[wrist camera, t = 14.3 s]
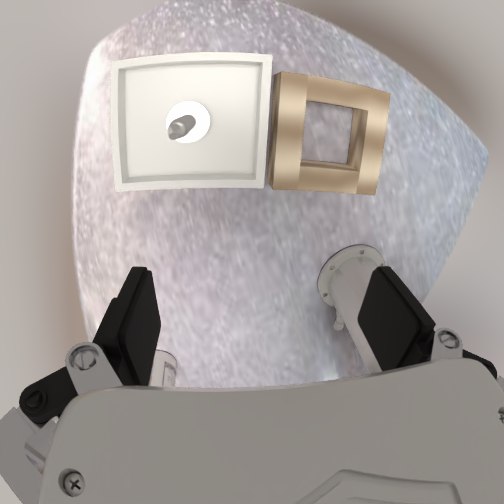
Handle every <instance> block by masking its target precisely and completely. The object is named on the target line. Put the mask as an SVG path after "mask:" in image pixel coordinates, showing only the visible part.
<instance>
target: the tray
mask: <svg viewBox="0 0 504 504" xmlns="http://www.w3.org/2000/svg"><path fill="white" fill-rule="evenodd" d="M271 71H272V55H267V54H254V53H233V52H198V53H178V54H165V55H155V56H146V57H139V58H132V59H125V60H120V61H114V62H111V66H110V129H111V147H112V160H113V171H114V181H115V190H116V192H122V191H138V190H157V189H184V188H264V179H265V164H266V149H267V134H268V119H269V103H270V88H271ZM190 101H191V102H196V103H199V104H200V105H202V106H203V107H204V108H205V109H206V110H207V112H208V114H209V118H210V123H209V128H208V130H207V132H206V133H205V135H204V136H203V137H201V138H200V139H198V140H197V141H194V142H188V143H187V142H181V141H178V140H171V139H170V138H169V137H168V128H167V118H168V115H169V113H170V111H171V110H172V109H173V108H174V107H175V106H176V105H178V104H180V103H182V102H190Z"/></svg>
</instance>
